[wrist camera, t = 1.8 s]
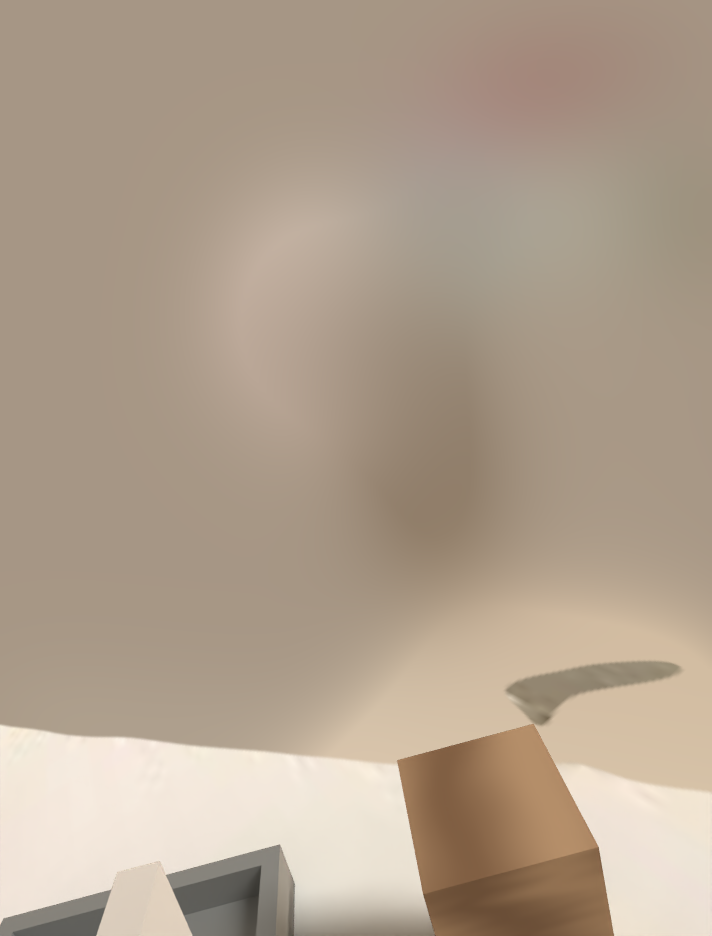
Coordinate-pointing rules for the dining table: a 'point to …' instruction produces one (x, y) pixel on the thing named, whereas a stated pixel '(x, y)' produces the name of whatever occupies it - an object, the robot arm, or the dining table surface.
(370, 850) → the dining table surface
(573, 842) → the block
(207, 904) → the tray
